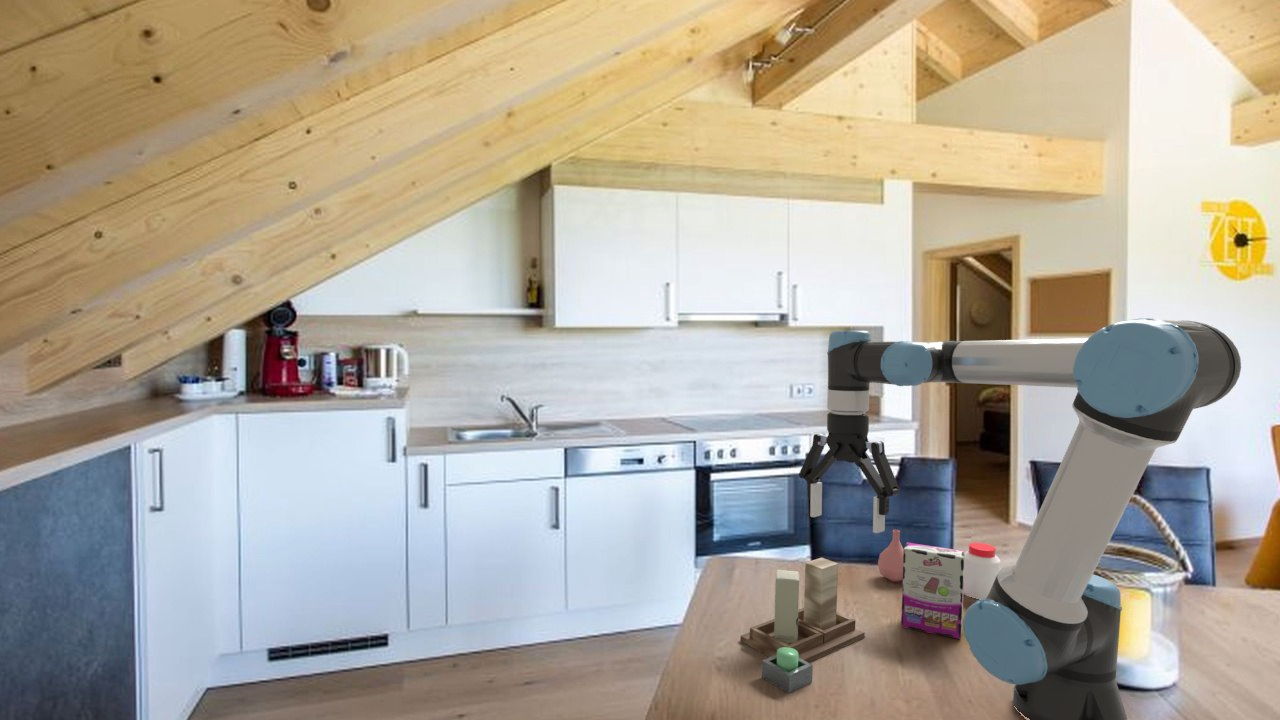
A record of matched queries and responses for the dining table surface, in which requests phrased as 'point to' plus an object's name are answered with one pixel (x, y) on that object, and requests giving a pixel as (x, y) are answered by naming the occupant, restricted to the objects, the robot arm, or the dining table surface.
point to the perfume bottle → (892, 559)
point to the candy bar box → (933, 589)
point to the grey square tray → (787, 674)
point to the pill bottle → (980, 570)
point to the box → (786, 606)
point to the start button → (787, 658)
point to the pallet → (805, 637)
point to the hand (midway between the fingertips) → (846, 523)
